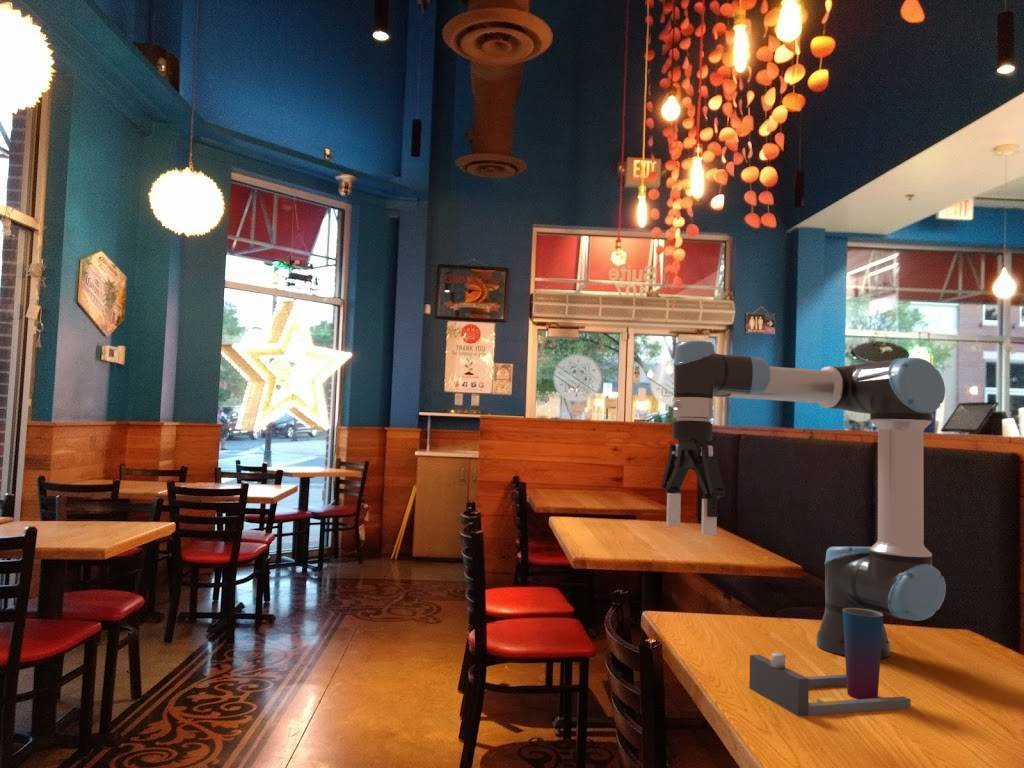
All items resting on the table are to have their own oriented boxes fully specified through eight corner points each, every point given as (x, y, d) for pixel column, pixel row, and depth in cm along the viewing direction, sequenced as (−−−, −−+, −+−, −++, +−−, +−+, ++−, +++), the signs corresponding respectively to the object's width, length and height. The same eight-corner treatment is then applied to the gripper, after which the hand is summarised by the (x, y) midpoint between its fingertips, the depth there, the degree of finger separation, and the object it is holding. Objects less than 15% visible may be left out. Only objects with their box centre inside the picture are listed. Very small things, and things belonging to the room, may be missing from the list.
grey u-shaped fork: (853, 681, 143) (853, 639, 143) (910, 708, 129) (910, 661, 130) (748, 688, 136) (748, 643, 137) (797, 716, 123) (797, 667, 123)
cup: (888, 704, 131) (888, 617, 132) (847, 699, 132) (847, 614, 133) (877, 691, 137) (877, 609, 138) (838, 687, 139) (838, 606, 140)
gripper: (646, 420, 155) (643, 522, 153) (709, 418, 131) (706, 538, 129) (678, 422, 157) (676, 522, 155) (746, 420, 133) (744, 539, 131)
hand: (690, 530), depth 142 cm, fingers open, 13 cm apart
